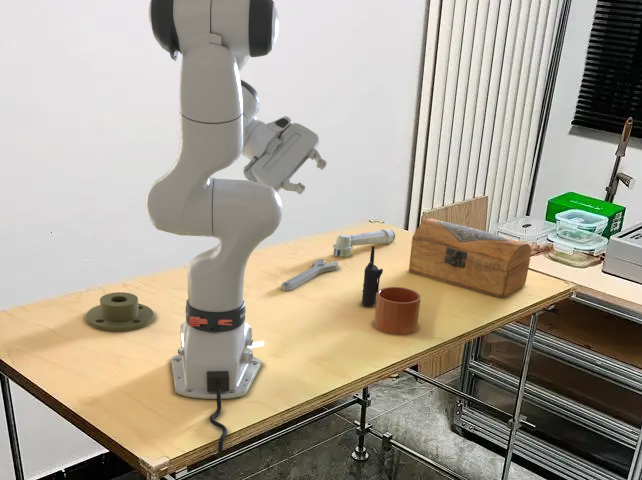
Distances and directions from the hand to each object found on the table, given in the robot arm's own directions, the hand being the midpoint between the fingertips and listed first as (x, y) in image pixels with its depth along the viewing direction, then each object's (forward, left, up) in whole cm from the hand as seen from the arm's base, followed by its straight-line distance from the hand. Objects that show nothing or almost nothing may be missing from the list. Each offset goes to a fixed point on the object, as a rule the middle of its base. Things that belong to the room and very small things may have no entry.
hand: (314, 178), depth 186 cm
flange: (-11, +44, -32) cm, 56 cm away
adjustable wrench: (+22, 0, -32) cm, 39 cm away
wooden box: (+26, -45, -32) cm, 61 cm away
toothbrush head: (+47, -18, -32) cm, 60 cm away
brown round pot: (-9, -21, -32) cm, 40 cm away
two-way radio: (+4, -16, -32) cm, 36 cm away
